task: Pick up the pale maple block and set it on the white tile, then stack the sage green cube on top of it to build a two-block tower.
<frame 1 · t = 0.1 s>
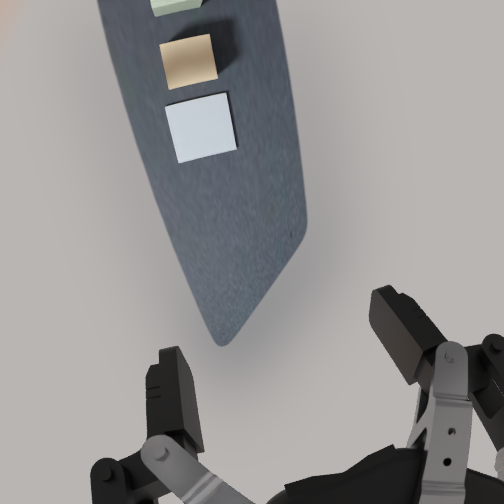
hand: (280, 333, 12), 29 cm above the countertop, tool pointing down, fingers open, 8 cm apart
white tile: (201, 127, 35), on the countertop
maple block: (187, 62, 30), on the countertop
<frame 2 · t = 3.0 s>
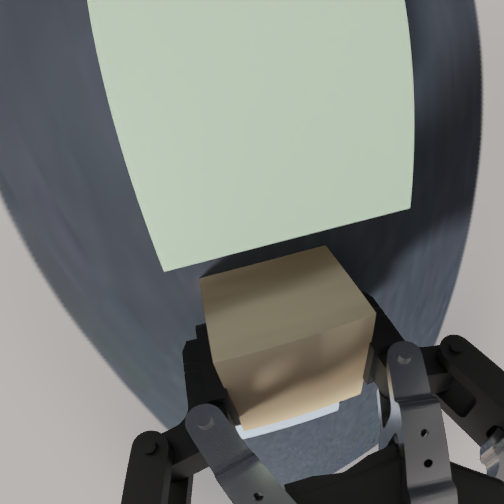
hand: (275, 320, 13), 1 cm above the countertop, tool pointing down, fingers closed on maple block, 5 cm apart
white tile: (285, 399, 18), on the countertop
maple block: (271, 308, 13), on the countertop, touching gripper
sage block: (230, 83, 8), on the countertop
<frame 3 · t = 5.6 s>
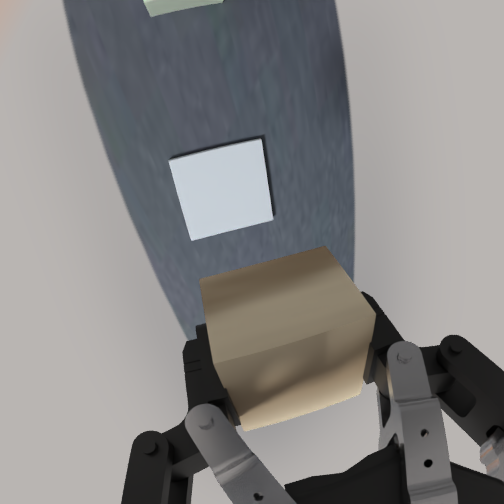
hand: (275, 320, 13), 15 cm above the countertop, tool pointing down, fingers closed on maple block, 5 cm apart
white tile: (223, 189, 25), on the countertop
maple block: (271, 309, 13), point 14 cm above the countertop, touching gripper
when the fingers open (2 cm above the countertop, at t = 8.1 s): maple block drops 1 cm, resting on white tile.
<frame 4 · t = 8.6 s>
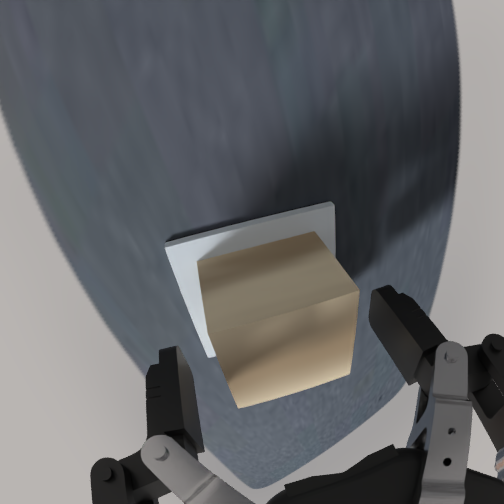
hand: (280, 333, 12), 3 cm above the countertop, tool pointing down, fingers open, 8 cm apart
white tile: (262, 286, 15), on the countertop
maple block: (264, 291, 14), resting on white tile
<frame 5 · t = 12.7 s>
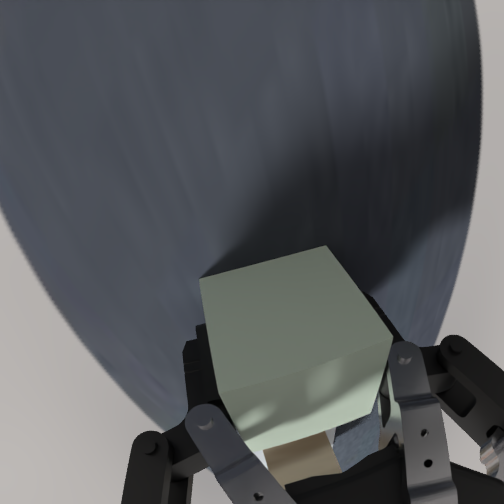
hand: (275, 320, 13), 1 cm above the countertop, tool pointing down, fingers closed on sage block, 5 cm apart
maple block: (295, 449, 23), resting on white tile
sage block: (271, 308, 13), on the countertop, touching gripper
when the fingers open (6 cm above the countertop, at t = 18.3 s): sage block drops 1 cm, resting on maple block.
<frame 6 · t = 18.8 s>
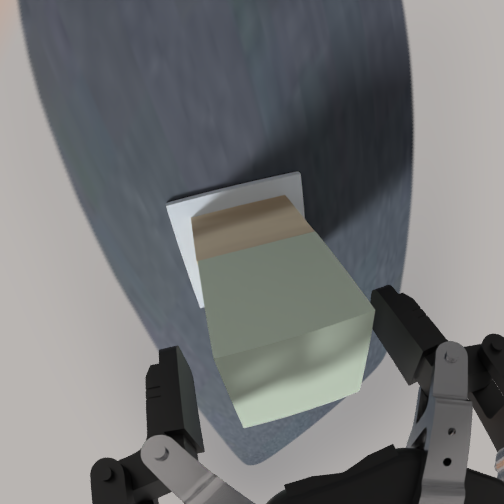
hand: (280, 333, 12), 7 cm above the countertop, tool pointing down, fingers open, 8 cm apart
white tile: (244, 242, 18), on the countertop
maple block: (246, 246, 18), resting on white tile, touching sage block
sage block: (265, 291, 14), point 4 cm above the countertop, touching maple block
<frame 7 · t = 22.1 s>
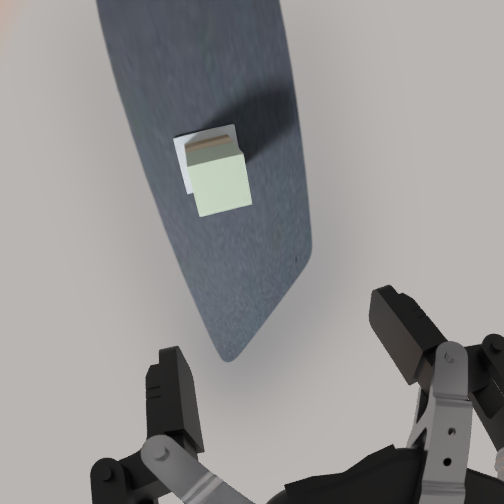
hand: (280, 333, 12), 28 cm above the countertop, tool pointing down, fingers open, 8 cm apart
white tile: (209, 158, 36), on the countertop
maple block: (210, 159, 36), resting on white tile, touching sage block
sage block: (214, 169, 32), point 4 cm above the countertop, touching maple block
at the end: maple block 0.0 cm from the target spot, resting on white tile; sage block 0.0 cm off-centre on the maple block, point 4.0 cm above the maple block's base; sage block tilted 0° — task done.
